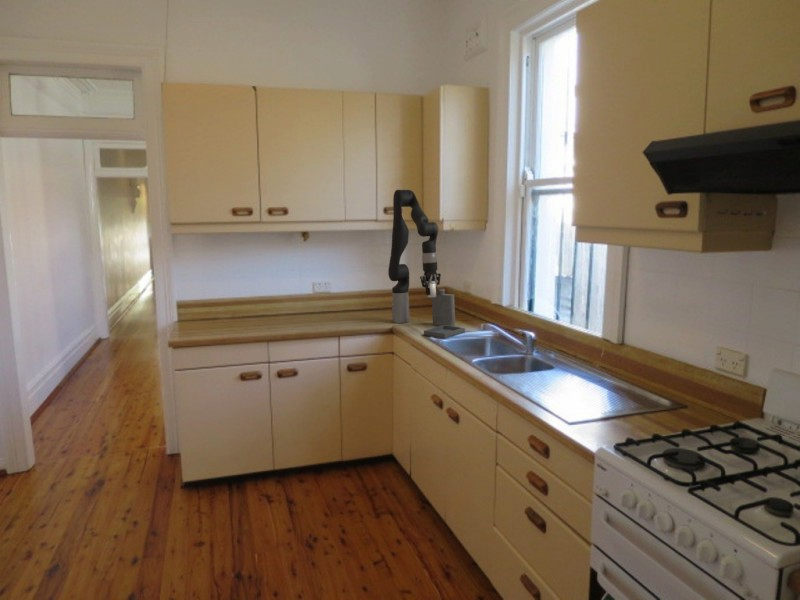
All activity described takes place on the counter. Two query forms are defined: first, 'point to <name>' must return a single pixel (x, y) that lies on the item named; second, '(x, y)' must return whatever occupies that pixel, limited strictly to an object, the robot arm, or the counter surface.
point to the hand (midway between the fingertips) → (431, 294)
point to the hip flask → (443, 309)
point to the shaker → (432, 289)
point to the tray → (444, 331)
